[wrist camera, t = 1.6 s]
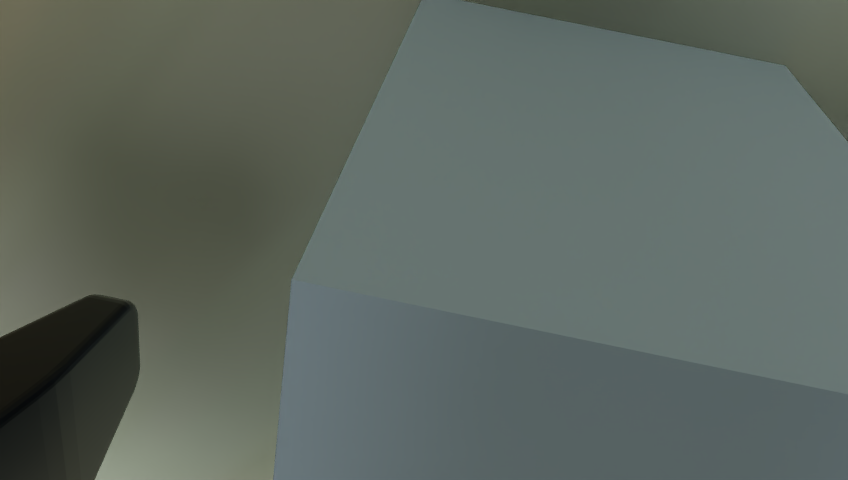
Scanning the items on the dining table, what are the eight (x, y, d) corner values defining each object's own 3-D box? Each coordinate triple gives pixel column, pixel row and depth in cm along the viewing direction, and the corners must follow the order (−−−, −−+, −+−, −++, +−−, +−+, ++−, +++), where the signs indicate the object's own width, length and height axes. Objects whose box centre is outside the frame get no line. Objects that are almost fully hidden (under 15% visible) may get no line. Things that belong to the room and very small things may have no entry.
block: (784, 64, 11) (1095, 445, 5) (664, 344, 13) (769, 810, 7) (424, -7, 11) (290, 278, 5) (377, 284, 13) (253, 700, 8)
